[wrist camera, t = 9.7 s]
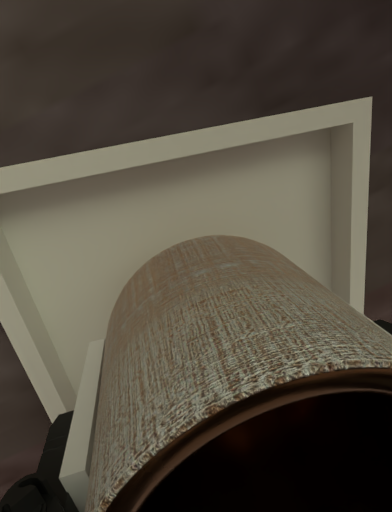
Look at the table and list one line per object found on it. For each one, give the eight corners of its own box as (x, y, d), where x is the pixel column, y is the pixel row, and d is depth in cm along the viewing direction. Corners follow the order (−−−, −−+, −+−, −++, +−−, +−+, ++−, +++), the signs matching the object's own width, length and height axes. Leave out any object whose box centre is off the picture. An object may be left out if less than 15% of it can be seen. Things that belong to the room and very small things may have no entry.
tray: (-40, 176, 14) (-72, 181, 12) (340, 103, 16) (372, 96, 14) (90, 453, 21) (85, 488, 19) (338, 375, 24) (360, 398, 22)
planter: (94, 239, 13) (17, 415, 5) (311, 223, 15) (554, 325, 6) (120, 417, 17) (106, 701, 8) (291, 386, 19) (428, 591, 10)
